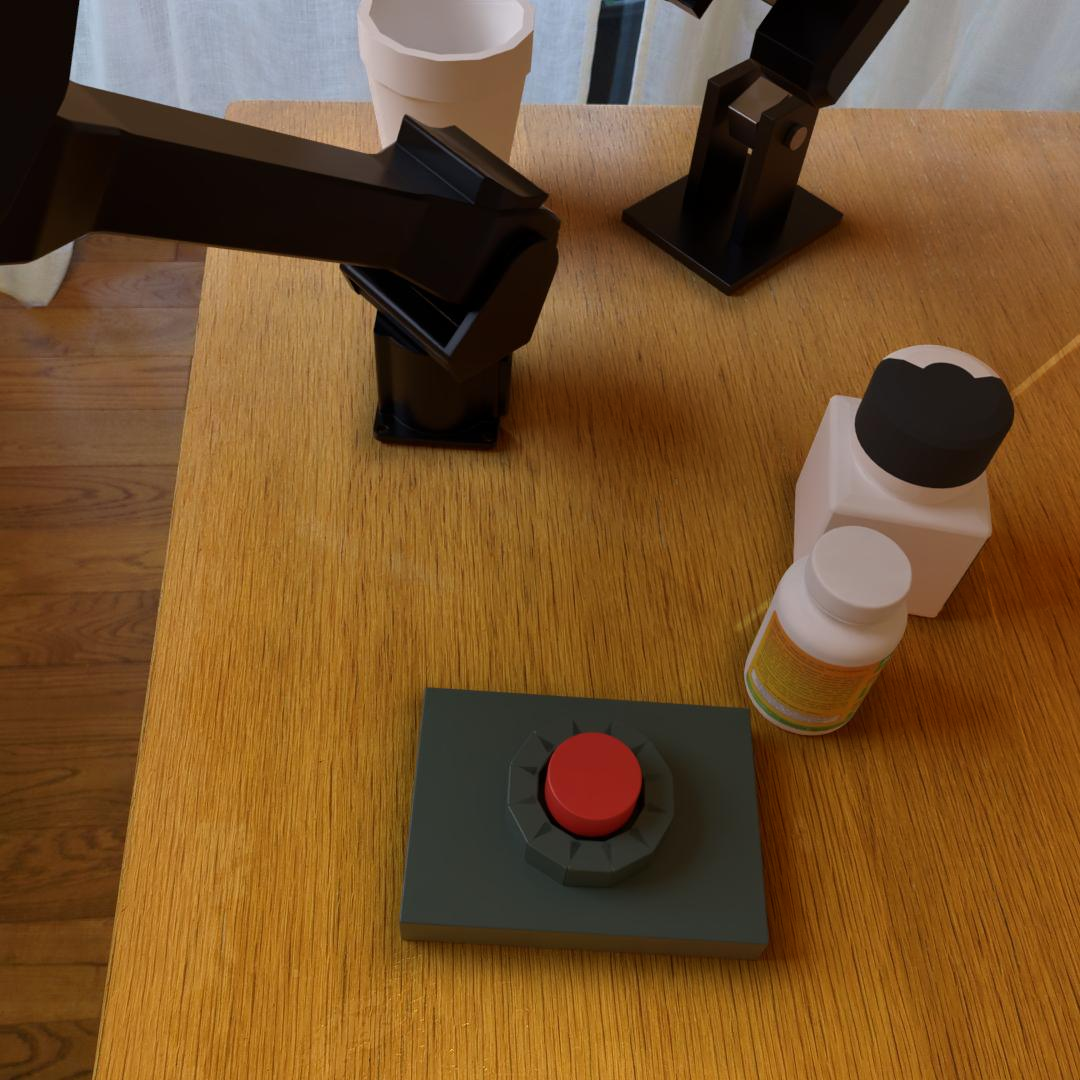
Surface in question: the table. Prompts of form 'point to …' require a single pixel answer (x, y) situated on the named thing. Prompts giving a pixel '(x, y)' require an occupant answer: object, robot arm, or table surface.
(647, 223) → the bracket
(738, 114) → the lever
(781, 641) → the supplement bottle
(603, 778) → the button
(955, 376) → the medicine bottle
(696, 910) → the button block
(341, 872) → the table surface
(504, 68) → the white flower pot
